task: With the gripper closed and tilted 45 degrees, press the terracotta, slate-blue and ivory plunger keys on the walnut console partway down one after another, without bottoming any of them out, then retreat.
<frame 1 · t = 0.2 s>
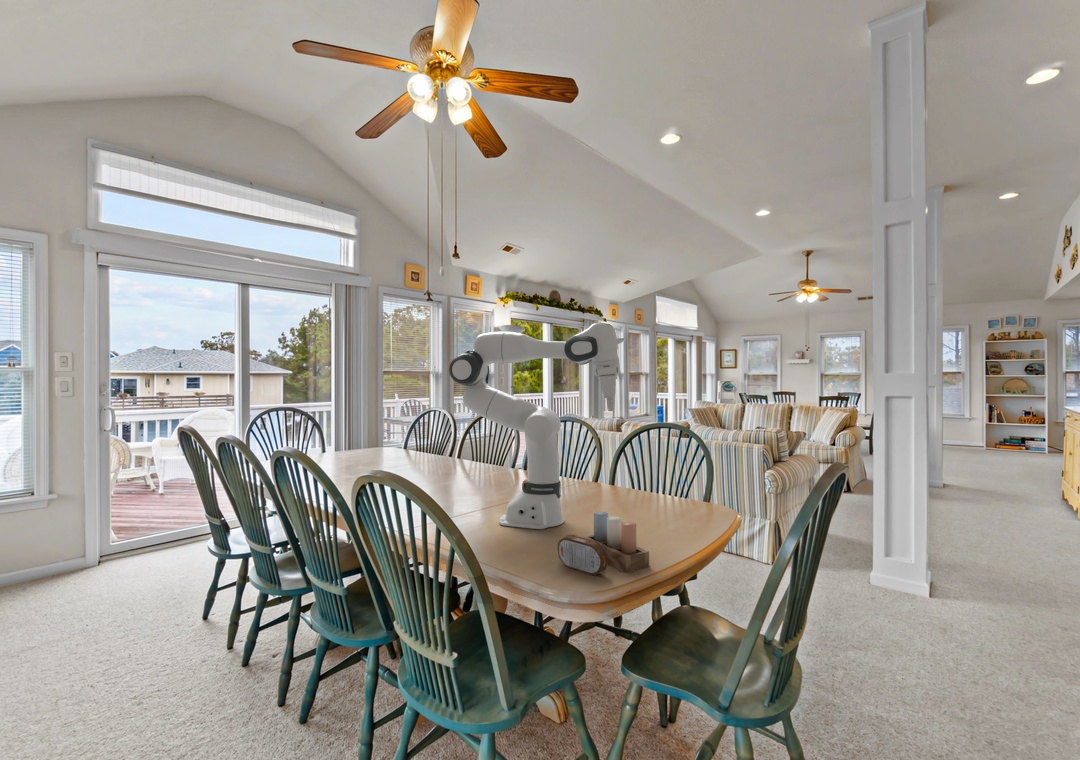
hand: (611, 410, 172), 39 cm above the table, tool pointing down, fingers open, 8 cm apart
tin: (581, 571, 133), on the table
key slate: (600, 527, 146), point 7 cm above the table, slide at 0.0 cm
key ivory: (614, 532, 141), point 7 cm above the table, slide at 0.0 cm
console: (614, 558, 141), on the table
key terracotta: (628, 538, 136), point 7 cm above the table, slide at 0.0 cm
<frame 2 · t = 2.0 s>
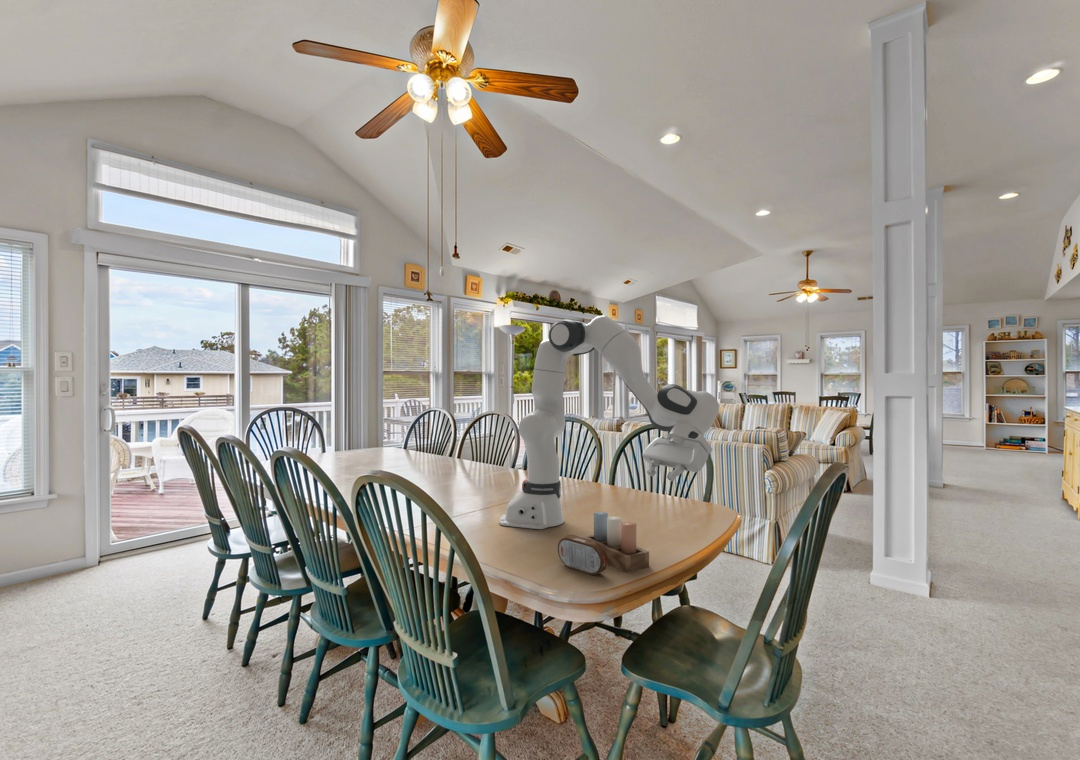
hand: (659, 476, 142), 23 cm above the table, tool tilted 45°, fingers open, 6 cm apart
nothing on the table moved.
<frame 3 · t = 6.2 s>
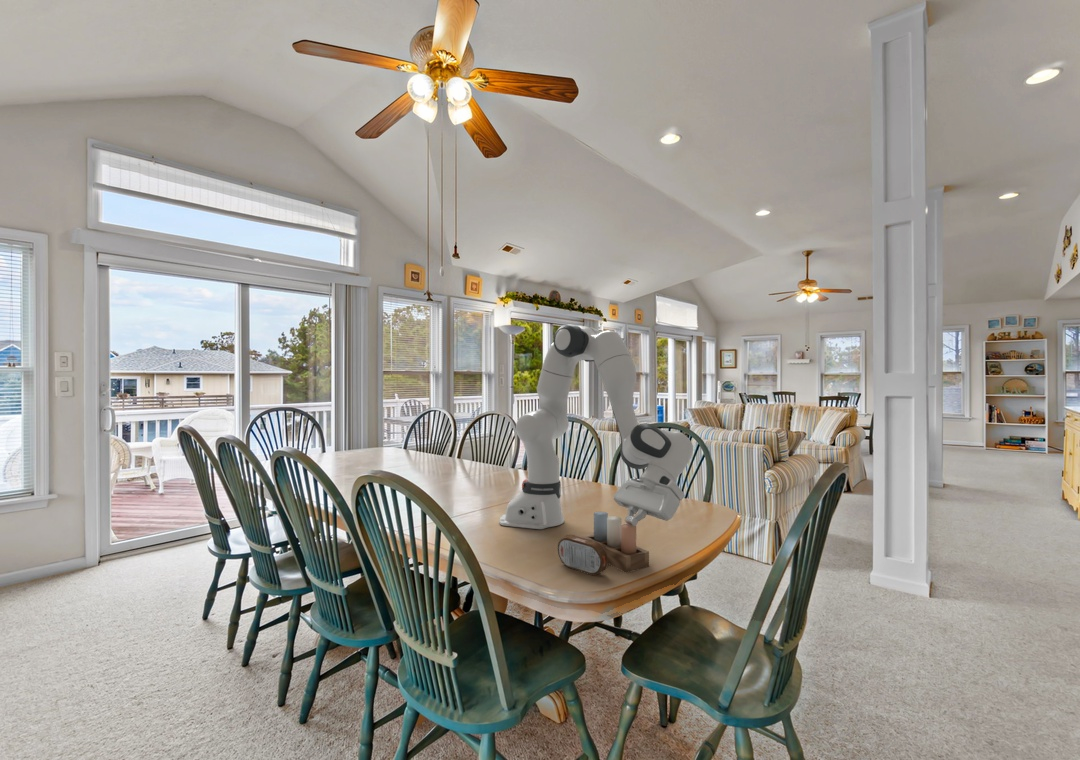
hand: (629, 523, 136), 11 cm above the table, tool tilted 45°, fingers closed
key terracotta: (628, 541, 136), point 7 cm above the table, slide at 0.6 cm, touching gripper
everything else where it was.
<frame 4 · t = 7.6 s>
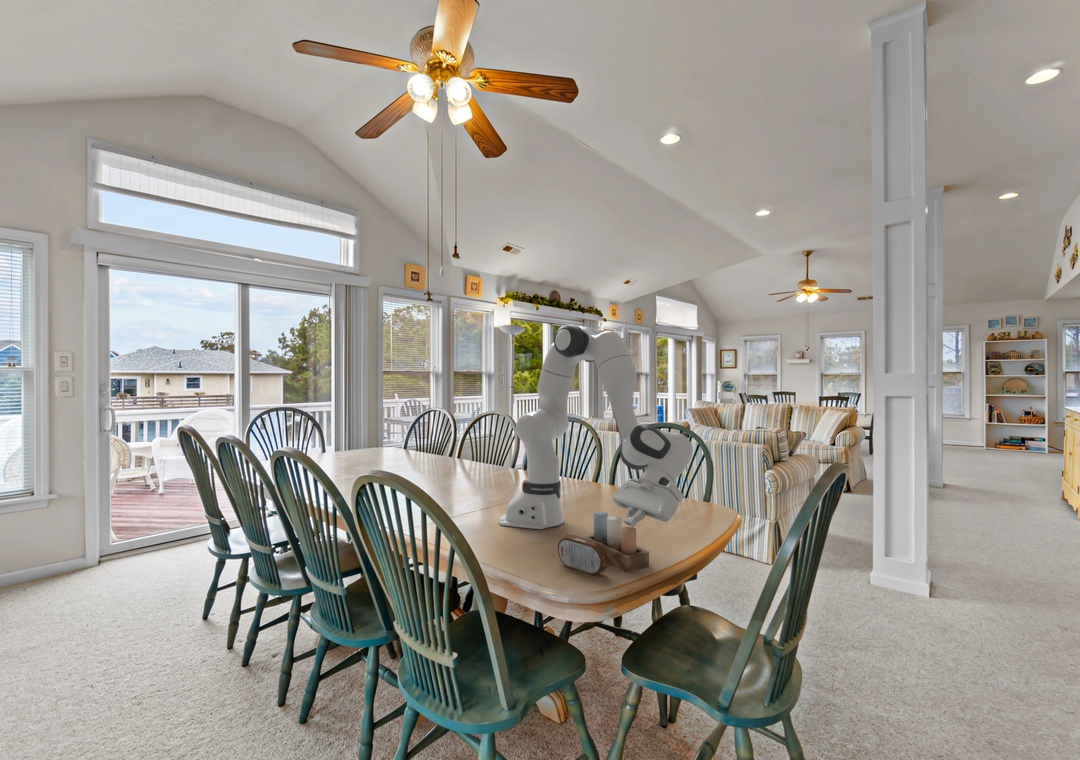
hand: (628, 524, 136), 11 cm above the table, tool tilted 45°, fingers closed
key terracotta: (628, 543, 136), point 6 cm above the table, slide at 1.4 cm
everything else where it was.
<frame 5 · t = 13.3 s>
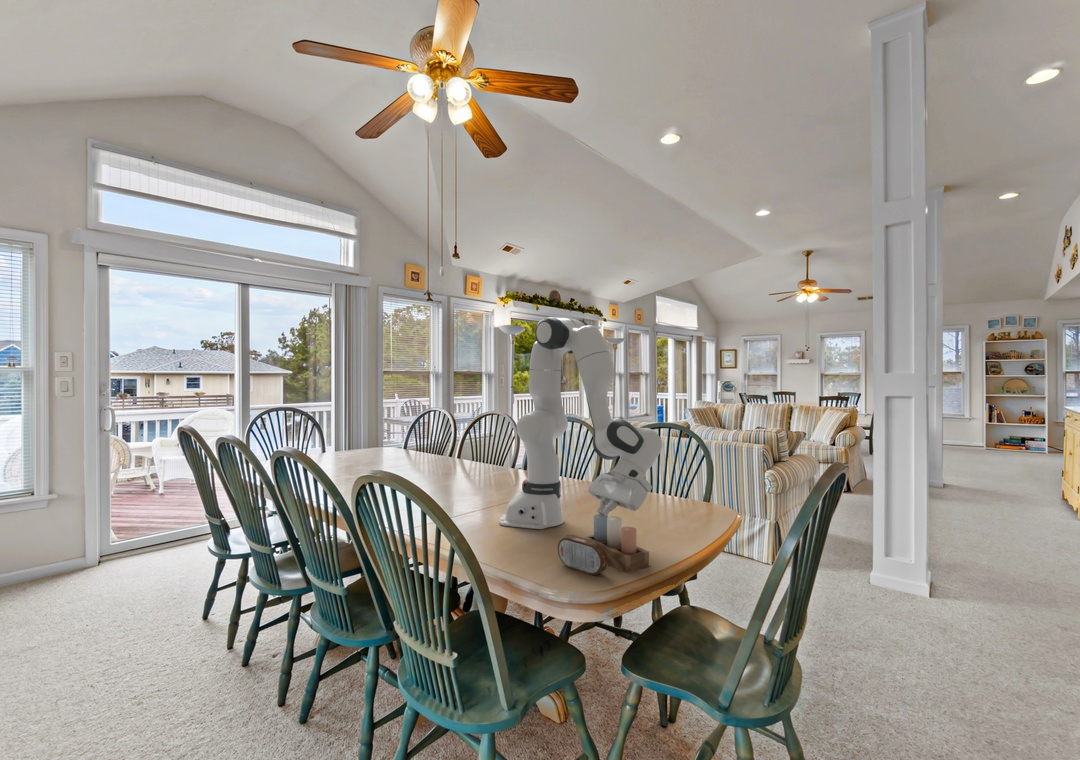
hand: (601, 513, 146), 11 cm above the table, tool tilted 45°, fingers closed
key slate: (600, 529, 146), point 6 cm above the table, slide at 0.8 cm
everything else where it was.
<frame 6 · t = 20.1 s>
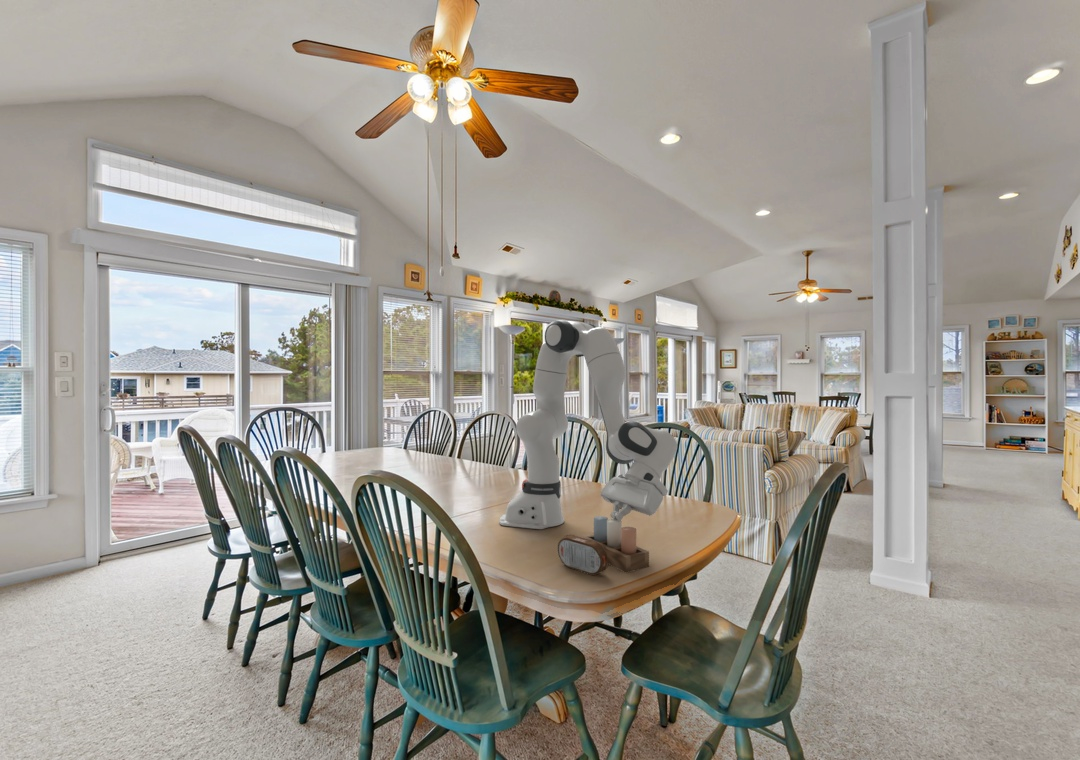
hand: (614, 518, 141), 11 cm above the table, tool tilted 45°, fingers closed
key slate: (600, 532, 146), point 6 cm above the table, slide at 1.4 cm
key ivory: (614, 535, 141), point 7 cm above the table, slide at 0.7 cm
everything else where it was.
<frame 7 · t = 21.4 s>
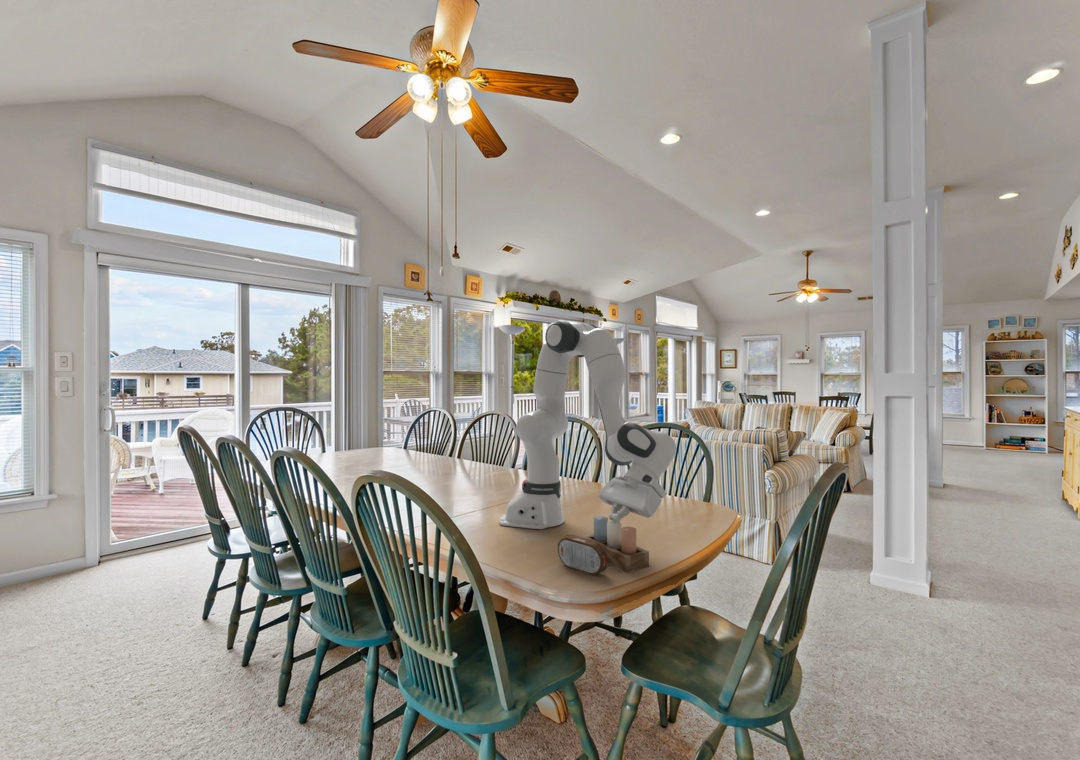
hand: (613, 520, 141), 11 cm above the table, tool tilted 45°, fingers closed
key ivory: (614, 537, 141), point 6 cm above the table, slide at 1.4 cm
everything else where it was.
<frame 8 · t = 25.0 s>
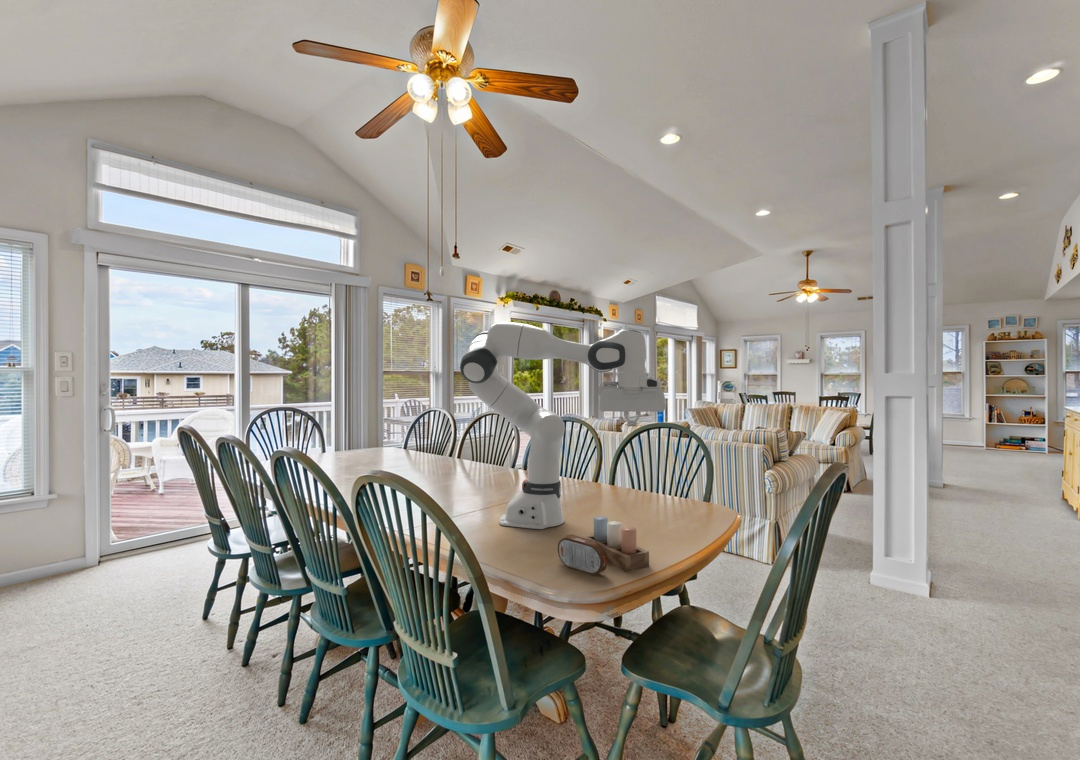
hand: (632, 426, 157), 35 cm above the table, tool pointing down, fingers closed
nothing on the table moved.
at the end: key terracotta slide at 1.4 cm; key slate slide at 1.4 cm; key ivory slide at 1.4 cm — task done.
